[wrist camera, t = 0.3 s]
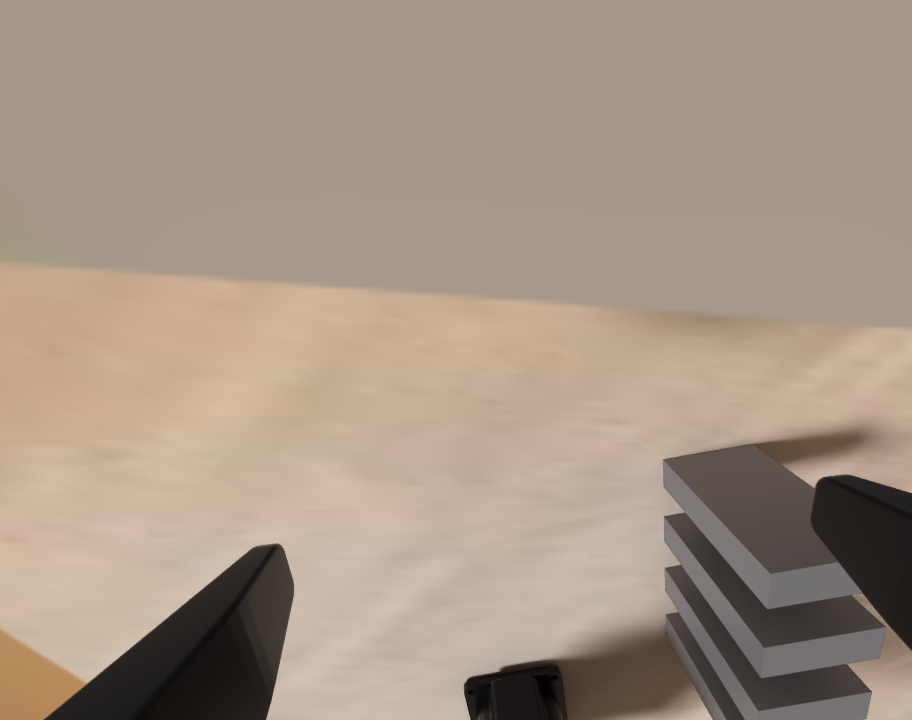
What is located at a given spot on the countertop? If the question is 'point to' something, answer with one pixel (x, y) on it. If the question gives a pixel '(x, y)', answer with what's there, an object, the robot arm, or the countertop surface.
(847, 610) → the domino
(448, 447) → the countertop surface
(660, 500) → the countertop surface
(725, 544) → the domino
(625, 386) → the countertop surface
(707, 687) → the domino
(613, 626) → the countertop surface
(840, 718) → the domino
